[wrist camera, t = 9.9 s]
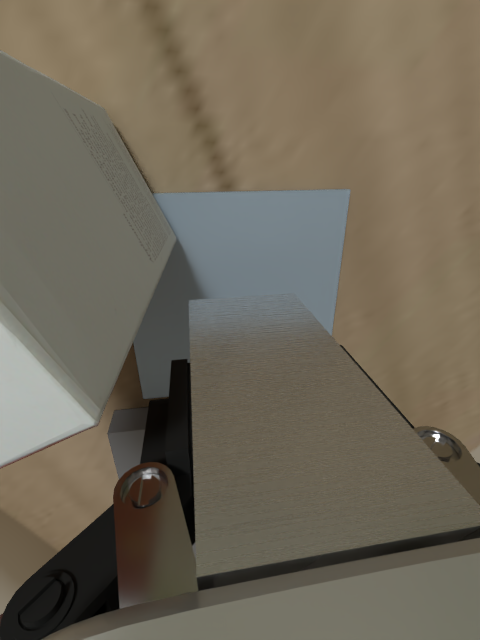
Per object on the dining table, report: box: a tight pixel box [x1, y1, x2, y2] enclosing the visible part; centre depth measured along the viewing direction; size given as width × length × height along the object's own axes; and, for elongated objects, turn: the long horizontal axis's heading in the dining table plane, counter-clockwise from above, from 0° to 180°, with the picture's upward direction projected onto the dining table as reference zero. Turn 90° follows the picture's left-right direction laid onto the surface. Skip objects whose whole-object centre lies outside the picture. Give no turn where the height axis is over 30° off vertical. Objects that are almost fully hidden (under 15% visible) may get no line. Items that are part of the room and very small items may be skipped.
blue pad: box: [133, 189, 350, 399], centre depth 18 cm, size 12×12×1 cm
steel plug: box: [189, 293, 480, 591], centre depth 10 cm, size 4×4×10 cm
